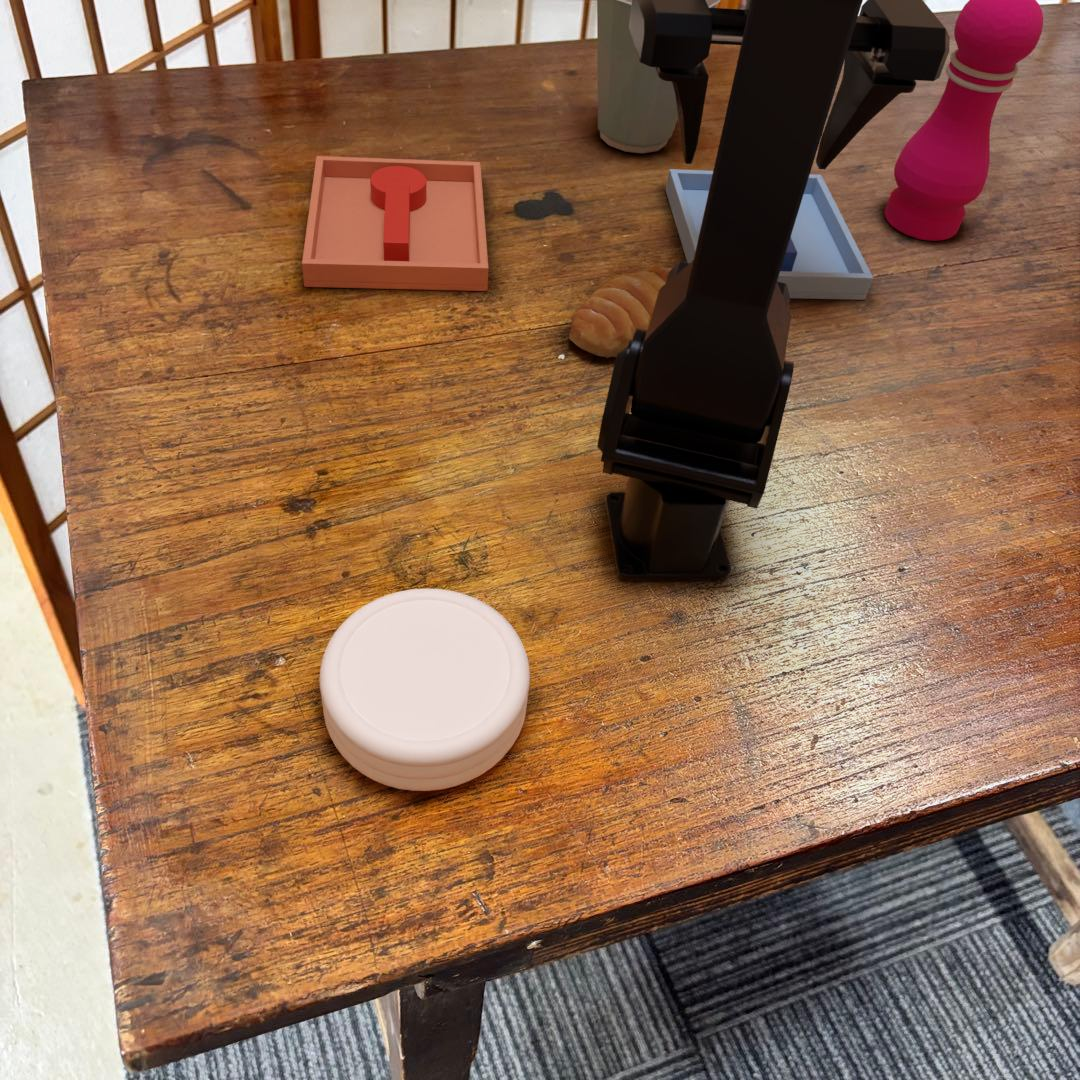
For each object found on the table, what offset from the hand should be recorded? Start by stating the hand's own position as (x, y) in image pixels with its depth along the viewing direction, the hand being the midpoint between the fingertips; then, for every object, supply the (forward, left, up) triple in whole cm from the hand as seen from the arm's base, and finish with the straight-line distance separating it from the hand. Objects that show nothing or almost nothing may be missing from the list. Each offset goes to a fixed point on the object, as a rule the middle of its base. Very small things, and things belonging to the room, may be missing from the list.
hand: (754, 163), depth 68 cm
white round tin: (-35, +22, -11) cm, 43 cm away
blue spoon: (+8, -5, -10) cm, 14 cm away
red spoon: (+8, +24, -10) cm, 27 cm away
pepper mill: (+12, -20, -11) cm, 26 cm away
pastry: (-4, +7, -11) cm, 14 cm away
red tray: (+8, +24, -11) cm, 28 cm away
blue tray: (+8, -5, -11) cm, 14 cm away
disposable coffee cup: (+25, +3, -11) cm, 27 cm away
